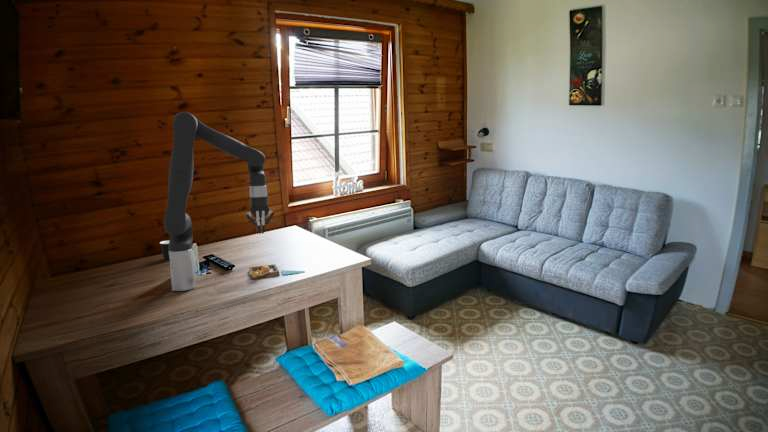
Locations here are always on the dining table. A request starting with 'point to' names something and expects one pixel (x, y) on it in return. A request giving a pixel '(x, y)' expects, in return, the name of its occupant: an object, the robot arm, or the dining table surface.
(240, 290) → the dining table surface
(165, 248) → the dixie cup
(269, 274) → the brown wooden frame
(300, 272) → the teal pad
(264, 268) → the figurine
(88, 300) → the dining table surface
